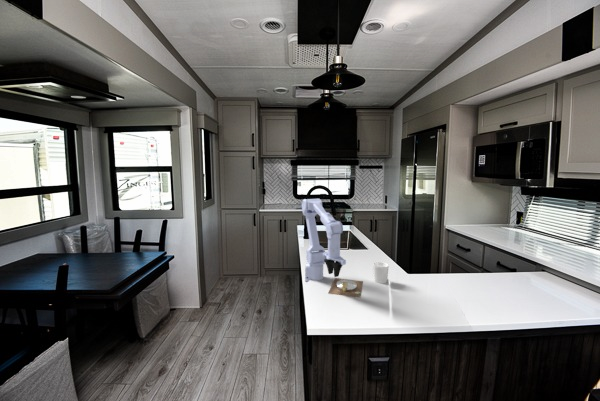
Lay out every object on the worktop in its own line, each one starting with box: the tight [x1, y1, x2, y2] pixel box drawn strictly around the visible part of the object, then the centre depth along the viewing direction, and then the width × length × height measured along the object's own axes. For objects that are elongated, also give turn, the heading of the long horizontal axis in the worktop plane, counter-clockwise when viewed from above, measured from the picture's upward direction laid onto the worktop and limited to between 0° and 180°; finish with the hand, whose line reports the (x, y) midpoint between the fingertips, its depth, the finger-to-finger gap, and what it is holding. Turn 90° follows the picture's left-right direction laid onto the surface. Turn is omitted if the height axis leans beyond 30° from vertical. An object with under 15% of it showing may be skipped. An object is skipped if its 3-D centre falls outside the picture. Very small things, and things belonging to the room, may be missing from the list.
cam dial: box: [336, 279, 357, 292], centre depth 135 cm, size 15×10×5 cm
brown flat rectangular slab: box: [327, 277, 364, 299], centre depth 137 cm, size 15×19×2 cm
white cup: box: [372, 261, 390, 284], centre depth 145 cm, size 8×8×10 cm
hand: (333, 274), depth 132 cm, fingers open, 4 cm apart
